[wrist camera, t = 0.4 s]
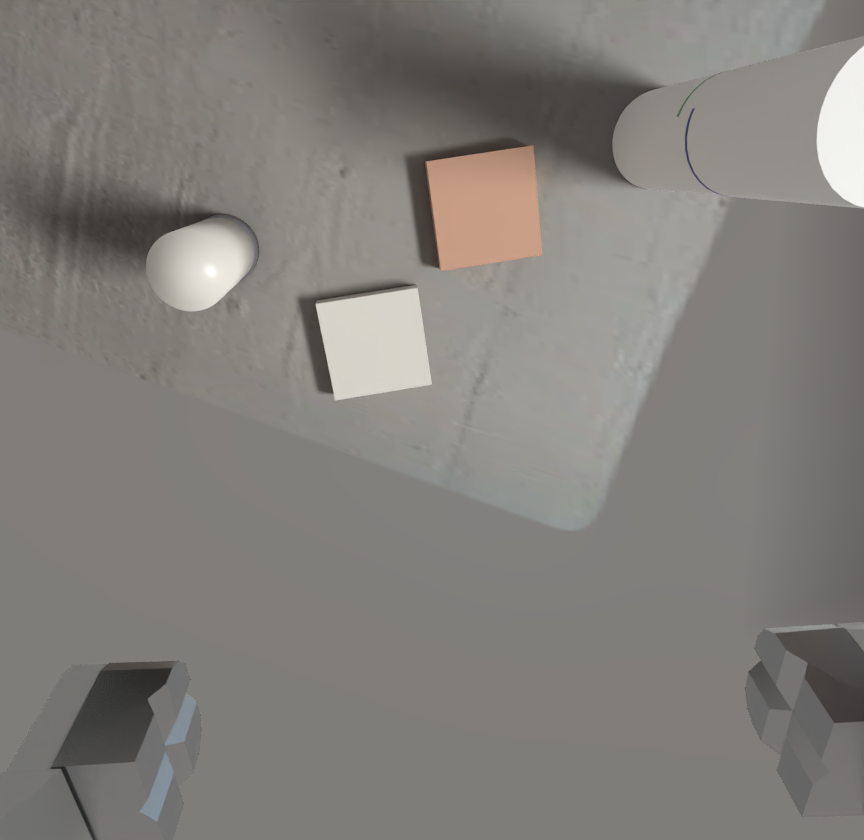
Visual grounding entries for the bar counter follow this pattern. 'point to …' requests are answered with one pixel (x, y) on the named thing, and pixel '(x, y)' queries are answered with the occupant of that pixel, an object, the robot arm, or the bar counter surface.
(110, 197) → the bar counter surface
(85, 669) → the robot arm
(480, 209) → the terracotta pad
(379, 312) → the stone pad
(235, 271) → the white rounded-top cylinder
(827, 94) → the cylindrical container
